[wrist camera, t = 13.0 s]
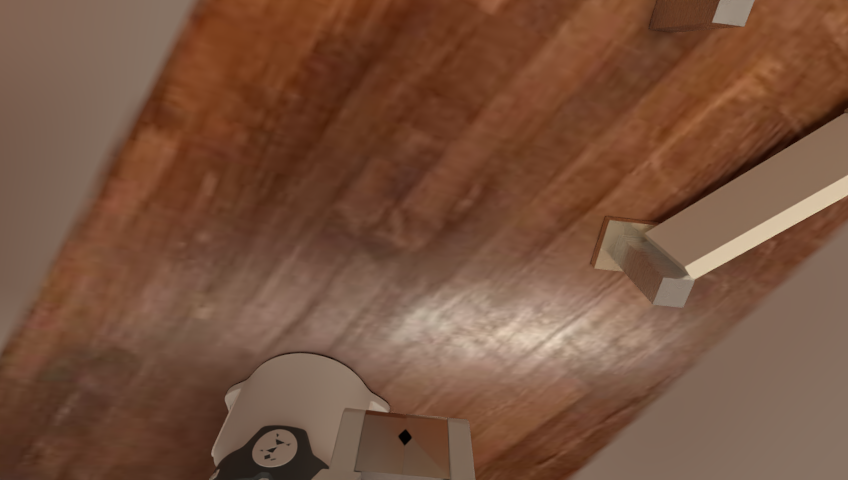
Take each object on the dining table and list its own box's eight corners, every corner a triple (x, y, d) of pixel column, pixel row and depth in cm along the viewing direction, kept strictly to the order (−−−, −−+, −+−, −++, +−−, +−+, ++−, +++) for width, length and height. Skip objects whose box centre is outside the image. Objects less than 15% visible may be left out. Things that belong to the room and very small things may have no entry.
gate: (653, 247, 38) (693, 282, 32) (643, 231, 38) (683, 264, 32) (877, 115, 33) (974, 128, 27) (870, 94, 33) (968, 103, 27)
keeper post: (673, 32, 32) (744, 26, 25) (648, 29, 32) (712, 22, 25) (687, -12, 31) (766, -32, 24) (661, -16, 31) (732, -37, 24)
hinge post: (640, 268, 41) (692, 323, 33) (590, 263, 41) (630, 316, 33) (657, 222, 39) (718, 267, 31) (605, 216, 39) (652, 260, 30)
